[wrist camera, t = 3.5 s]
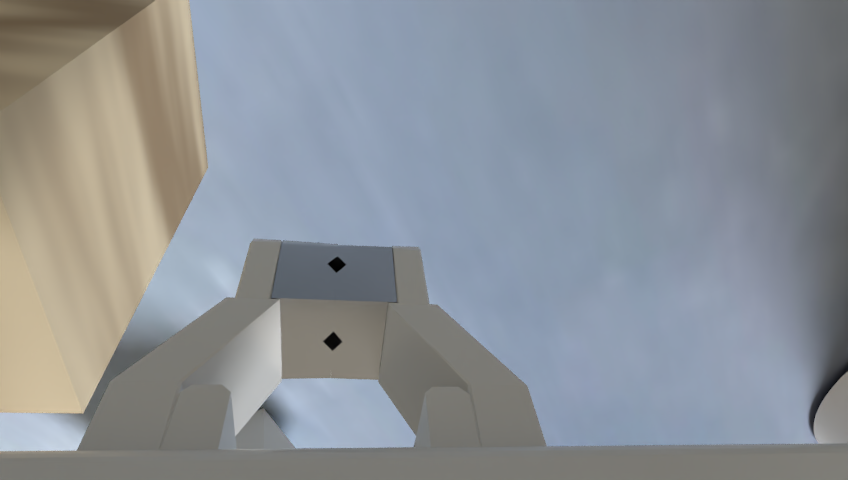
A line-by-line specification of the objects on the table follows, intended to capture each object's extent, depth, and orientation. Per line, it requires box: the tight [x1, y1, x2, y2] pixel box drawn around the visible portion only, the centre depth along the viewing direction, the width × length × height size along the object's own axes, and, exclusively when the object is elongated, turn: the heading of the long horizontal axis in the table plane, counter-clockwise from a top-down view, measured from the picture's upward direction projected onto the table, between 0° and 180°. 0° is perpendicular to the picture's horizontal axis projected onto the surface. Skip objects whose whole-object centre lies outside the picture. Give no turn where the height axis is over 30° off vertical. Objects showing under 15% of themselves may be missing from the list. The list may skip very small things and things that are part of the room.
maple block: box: [0, 0, 208, 413], centre depth 12 cm, size 4×6×10 cm, turn 172°
